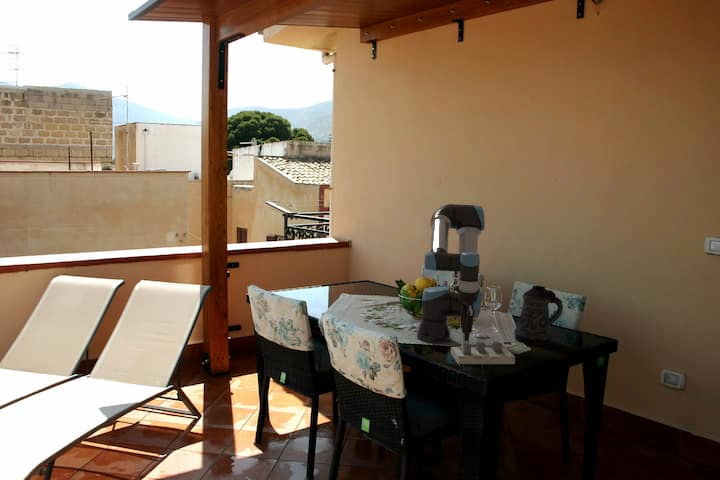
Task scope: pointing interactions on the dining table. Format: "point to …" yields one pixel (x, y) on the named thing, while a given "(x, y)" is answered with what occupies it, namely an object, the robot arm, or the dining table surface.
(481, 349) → the switch tab
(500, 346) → the switch tab
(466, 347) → the switch tab
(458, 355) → the switch bank
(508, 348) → the handheld gaming console
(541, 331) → the beer stein
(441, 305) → the robot arm
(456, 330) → the dining table surface
